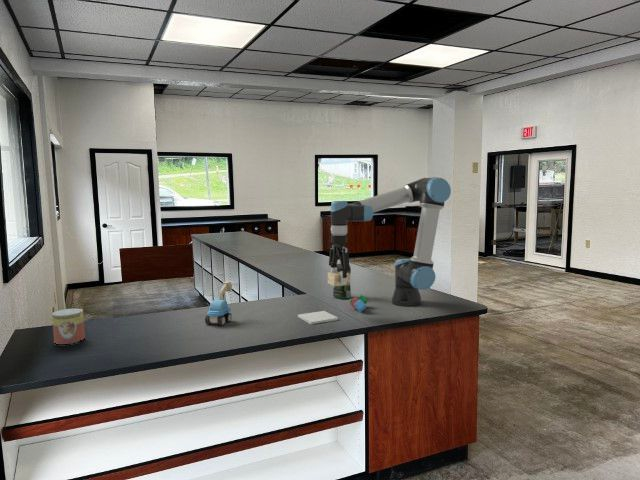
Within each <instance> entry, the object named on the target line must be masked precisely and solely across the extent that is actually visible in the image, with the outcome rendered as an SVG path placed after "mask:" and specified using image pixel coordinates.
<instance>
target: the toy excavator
mask: <svg viewBox="0 0 640 480" xmlns="http://www.w3.org/2000/svg"><path fill="white" fill-rule="evenodd" d="M232 285H233V284H232V282H230V281H223V282H222V287H221V288H220V291H219V299H214V300H213V299H212V300H211V302H210V305H209V310H207V314H206V315H205V317H204V323H205V324H206V325H211V324H217V325H218V326H223V325H225V324H226V322H227V323H228V322H229V323H231V321H232V320H233V317H232V316H233V315H232V313H231V311H232V310H231V307H230V306H228V301H227V300H225V299H226V297H225V293H226V292H232V290H233V286H232Z"/></svg>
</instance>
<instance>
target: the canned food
mask: <svg viewBox="0 0 640 480" xmlns="http://www.w3.org/2000/svg"><path fill="white" fill-rule="evenodd" d="M51 317H52V319H51V321H52V331H53V344H54V343H56V344H68V343H74V342H78V341H80V340H83V339H84V338H85V339H86V335H85V334H86V333H85V321H84V319H85V318H84V309H82V308H75V307H73V308H64V309H59V310H56V311H53V312H52V313H51ZM56 344H55V345H56Z"/></svg>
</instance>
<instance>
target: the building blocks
mask: <svg viewBox="0 0 640 480" xmlns="http://www.w3.org/2000/svg"><path fill="white" fill-rule="evenodd" d="M367 303H368V300H367V298H366V297H365V296H364V295H363V294H360V295H359V296H358V297H357V296H355V297H353V298H349V305H350V307H352V309H354V310H357V311H358V312H359V313H362V312H363V311H364V310H366V308H367Z"/></svg>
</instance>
